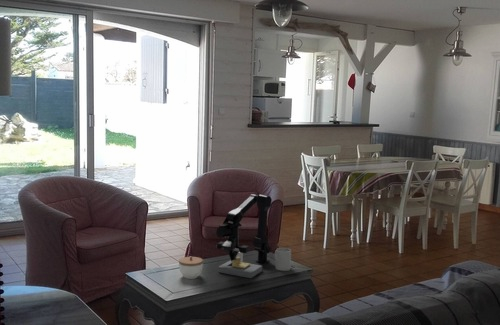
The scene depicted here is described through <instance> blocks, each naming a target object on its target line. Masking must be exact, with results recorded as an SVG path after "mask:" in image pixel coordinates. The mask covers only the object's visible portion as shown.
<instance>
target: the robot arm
mask: <svg viewBox="0 0 500 325" xmlns="http://www.w3.org/2000/svg"><path fill="white" fill-rule="evenodd" d="M272 202H273V200H272V197H271V196H270V195H266V194H265V195H264V194H254V193H251V194H250V195H249V197H248V198H246V199H245V200H244V201H243V203H241V204H240V205H239V206H238V207H237V208H234V209H232V210H230V211H229V212H227V214H226V217H225V219H224V221H223V222H222V224H219V225H218V227H217V229H216V232H215V234H216V236H217V237H218V238H219V239H222V238H226V241H219V242H217V243H216V246H215V248H216V249H217V250H218V249H219V250H221V249H222V251H224V252H226V253H227V254H228V256H229V259H230V260H231V262H232V260H233V259H235V258H236V256H237V254H238V252H240V253H243V254H247V253H249V252H251V247H250V246H249V245H245V244H243V245H241V246H240V243H239V239H240V236H239V234H240V233H239V229H240V227H242V224H241V223H240V222H241V221H242V220H243V218H244V216H245V215H244V214H246V213H247V212H248V211H249V210H250V209H251V208H252V207H253V206H255V204H256V206H257V208H258V218H257V219H258V221H257V233H256V235H255V236H253V237H252V238H253V239H252V245H253V248H254V251H257V259H256V260H255V263H261V264H267V263H268V262H270V259H268V254H270V253H271V252H272V248H271V246H270V245H269V241H268V240H269V238H268V237H267V222H268V211H269V209H270V208H271V205H272Z"/></svg>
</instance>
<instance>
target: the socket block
mask: <svg viewBox="0 0 500 325" xmlns="http://www.w3.org/2000/svg"><path fill="white" fill-rule="evenodd" d="M249 264H250V266H248V267H247V268H245V269H242V268H237V267H232V262H231V259H230V260H228V261H226V262H225V263H223V264H220V265H219V266H218V270H217V271H218V273H222V274H227V275H232V276H237V277H241V278H243V277H244V278H249V279H252V278H254V277H255V276H257V275H258V274H260V273H261V272H262V271H263V265H260V264H253V263H249Z"/></svg>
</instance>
